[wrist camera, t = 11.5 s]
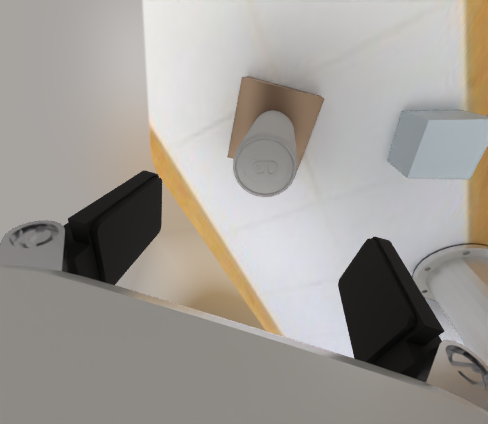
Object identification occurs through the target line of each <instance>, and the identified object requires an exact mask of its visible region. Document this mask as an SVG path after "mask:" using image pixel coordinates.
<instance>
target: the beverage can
mask: <svg viewBox="0 0 488 424" xmlns="http://www.w3.org/2000/svg"><path fill="white" fill-rule="evenodd" d="M297 168H298V158H297V150H296V142H295V134H294V127H293V124H292V122H291V120H290V119H289V118H288V117H287V116H286V115H285V114H283V113H281V112H279V111H274V110H271V111H266V112H264V113H262V114H261V115H260V116H259V117H258V118H257V119H256V120H255V122H254V123H253V125H252V126H251V128H250V130H249V131H248V133H247V134H246V136H245V137H244V139H243V140H242V142H241V143H240V145H239V146H238V148H237V150H236V153H235V156H234V164H233V170H234V175H235V177H236V179H237V181H238V183H239V184H240V185H241V187H242V188H243V189H244V190H246V191H247V192H249V193H251V194H253V195H256V196H261V197H270V196H274V195H277V194H280V193H281V192H283V191H285V190H286V189H287V188H288V187H289V186H290V185H291V183H292V181H293V179H294V178H295V175H296V172H297Z"/></svg>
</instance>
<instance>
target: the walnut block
mask: <svg viewBox="0 0 488 424" xmlns="http://www.w3.org/2000/svg"><path fill="white" fill-rule="evenodd" d="M323 101H324V98H322V97H321V96H319V95H315V94H311V93H308V92H304V91H300V90H296V89H293V88H289V87H285V86H281V85H278V84H274V83H270V82H266V81H262V80H259V79H255V78H251V77H242V81H241V86H240V92H239V97H238V103H237V108H236V114H235V119H234V124H233V130H232V135H231V141H230V146H229V152H228V157H229V158H233V159H234V156H235V153H236V150H237V148H238V146H239V145H240V143H241V142H242V140H243V139H244V137H245V136H246V134H247V133H248V131H249V130H250V128H251V126H252V125H253V123H254V122H255V120H256V119H257V118H258V117H259V116H260V115H261V114H262V113H264V112H266V111H271V110H274V111H279V112H281V113H283V114H285V115H286V116H287V117H288V118H289V119H290V120H291V122H292V124H293V127H294V134H295V142H296V150H297V158H298V167H299V164H300V162H301V159H302V157H303V154H304V151H305V149H306V146H307V143H308V141H309V138H310V135H311V133H312V130H313V128H314V125H315V122H316V120H317V117H318V114H319V112H320V109H321V106H322V104H323ZM297 170H298V168H297Z"/></svg>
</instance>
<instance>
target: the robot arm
mask: <svg viewBox="0 0 488 424" xmlns="http://www.w3.org/2000/svg"><path fill="white" fill-rule="evenodd" d="M161 212H162V179H161V178H159V176H158V174H155V173H152V172H148V171H142V172H140V173H139V174H137V175H136V176H134V177H133V178H131V179H129V180H128V181H126V182H125V183H123V184H122V185H120V186H118V187H117V188H115V189H114V190H112V191H111V192H109V193H107V194H106V195H104V196H103V197H101V198H100V199H98V200H96V201H95V202H93V203H92V204H90V205H89V206H87V207H86V208H84V209H82V210H81V211H79V212H78V213H76V214H74V215H73V216H71V217H70V218H68V221H69V223H67V224H66V225H64V226H63V225H61V224H60V223H57V222H55V221H35V222H29V223H26V224H23V225H20V226H18V227H15V228H13V229H12V230H10V231H9V232H8V233H6V234H5V236H4V237H3V239H2V241H1V243H0V424H488V246H484V245H476V244H473V245H459V246H454V247H450V248H446V249H443V250H441V251H438V252H436V253H434V254H432V255H430V256H429V257H427V258H426V259H424V260H423V261H422V262H421V263H420V264H419V265H418V267H417V268H416V269H415V272H414V274H413V278H412V277H411V275H410V273H409V272H408V270H407V268H406V267H405V265H404V263H403V262H402V260H401V258H400V257H399V255H398V253H397V252H396V250H395V248H394V247H393V245H392V243H391V242H390V241H389V240H385V239H382V238H378V237H373V238H371V239H367V240H366V242H365V243H364V244H363V246H362V247H361V249H360V250H359V252H358V253H357V255H356V256H355V257H354V259H353V260H352V262H351V263H350V265H349V266H348V268H347V269H346V270H345V272H344V273H343V275H342V276H341V278H340V279H339V283H338V287H339V291H340V296H341V300H342V305H343V309H344V314H345V318H346V323H347V327H348V331H349V336H350V340H351V345H352V349H353V354H354V358H355V359H354V358H350V357H347V356H344V355H341V354H338V353H334V352H331V351H328V350H325V349H322V348H319V347H315V346H312V345H309V344H306V343H303V342H299V341H296V340H293V339H290V338H287V337H283V336H280V335H277V334H274V333H270V332H267V331H264V330H260V329H257V328H254V327H251V326H247V325H244V324H241V323H238V322H235V321H231V320H228V319H225V318H221V317H218V316H215V315H212V314H208V313H205V312H202V311H199V310H195V309H192V308H189V307H185V306H182V305H179V304H176V303H172V302H169V301H166V300H162V299H159V298H155V297H152V296H149V295H146V294H142V293H139V292H136V291H132V290H129V289H126V288H122V287H118V286H115V284H116V283H117V282H118V280H119V279H120V278H121V277H122V276H123V275H124V273H125V272H126V271H127V270H128V269H129V267H130V266H131V265H132V264H133V263H134V262H135V260H136V259H137V258H138V257H139V256H140V255H141V253H142V252H143V251H144V250H145V249H146V247H147V246H148V245H149V244H150V242H152V240H153V239H154V238H155V237H156V236H157V234H158V233H159V231H160V229H161ZM423 296H424V297H426V298H429V299H431V300H434V301H437V303H438V304H439V306H440V307H441V309H442V310H443V312H444V313H445V315H446V316H447V318H448V319H449V321H450V322H451V324H452V326H453V327H454V329H455V330H456V332H457V333H458V335H459V336H460V338H461V339H462V341H463V342H464V344H465V345H466V347H467V348H466V347H465V346H463V345H461V344H459V343H457V342H455V341H451V340H444V341H441V339H440V337H439V335H440V334H441V333H443V332H444V330H443V328H442V326H441V325H440V323H439V321H438V320H437V318H436V317H435V315H434V313H433V312H432V310H431V308H430V307H429V305H428V303H427V302H426V300H425V298H424V297H423Z"/></svg>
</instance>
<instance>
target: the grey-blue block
mask: <svg viewBox="0 0 488 424" xmlns="http://www.w3.org/2000/svg"><path fill="white" fill-rule="evenodd" d="M487 146H488V116H485V115H481V114H476V113H472V112H467V111H462V110H433V111H402V113H401V116H400V119H399V123H398V126H397V129H396V132H395V136H394V139H393V142H392V146H391V149H390V152H389V155H388V159H387V161H388V162H389V163H391V164H392V165H393V166H394V167H395V168H396V169H397V170H399V171H400V172H401V173H402V174H403V175H404V176H405V177H407V178H422V179H468V180H470V178H471V176H472V174H473V172H474V170H475V168H476V167H477V165H478V163H479V161H480V159H481V157H482V155H483V153H484V152H485V150H486V148H487Z"/></svg>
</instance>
